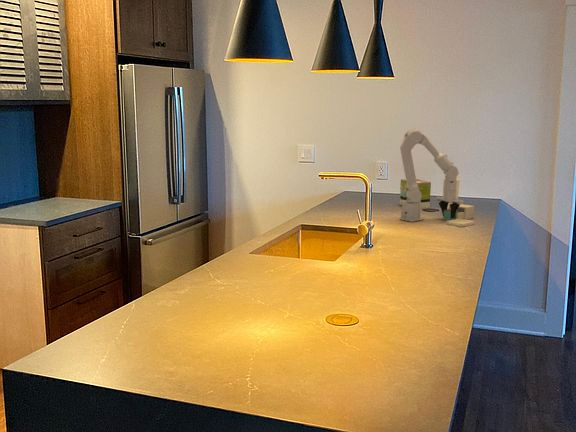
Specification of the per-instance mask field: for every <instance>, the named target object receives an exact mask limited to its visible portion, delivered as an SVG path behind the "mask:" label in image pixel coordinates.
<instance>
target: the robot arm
mask: <svg viewBox="0 0 576 432" xmlns="http://www.w3.org/2000/svg"><path fill="white" fill-rule="evenodd" d="M417 144H419V145H422V146H424V148H425V149H426V150H427V151H428V152H429V153H430V154H431V155H432V156H433V161H434V163H435V164H436V165H437V166H438V167H439V168H440V169H441V171H443V174H444V178H445V182H444V181H443V182H444V197H443V196H435V201H436V202H438V205H439V207H440V210H441V213H442V215H443V214H444V210H445V209H447V207H448V203H453V204H450V208H451V218H454V217H455V213H456V211H457V209H458V207H459V206H460V205H462V204H464V199H459V198H458V199H456V183H457V181H456V179H457V178H458V175H459V173H460V172H459V168H457V167H456V166H455V165H454V162H453V161H451V160H450V159H449V158H448V155H447V154H446V153H444V152H440V151H439V150H438V149H437V148H436V147H435V145H434V144H433V142H432V141H430V140H429V138H428V137H427V136H426V135H425V134H423V133H422V131H420V130H419V129H416V128H410V129H409V130H408V131H406V132H405V134H404V135H403V139H402V141H401V145H400V148H399V149H400V150H399V151H400V154H401V161H402V167H403V171H404V176H405V179H406V183H407V184H406V187H407V190H406V196H407V199H406V203H404V204H403V205H401V208H400V209H401V210H400V217H399V220H400V221H406V222H410V223H411V222H418V221H423V220H424V218H422V217H421V209H420V208H421V201H420V200H421V198H422V194H421V192H420V191H419V188H418V185H417V182H416V179H417V178H416V172H415V171H416V170H415V166H414V160H413V156H412V149H413V148H414V147H415V146H416V145H417ZM450 201H452V202H450Z"/></svg>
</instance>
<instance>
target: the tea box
mask: <svg viewBox="0 0 576 432" xmlns="http://www.w3.org/2000/svg"><path fill="white" fill-rule="evenodd" d="M416 182H417V185H418V188H419V191H420V192H421V194H422V198H421V200H420V201H421V208H420V210H426V209H430V206H431V205H430V204H431V187H432V184H431V183H432V182H431V181H428V180H422V179H418V178H416ZM406 184H407V183H406V178H402V179H400V191H399V193H400V194H399V205H400V206H402V205H403V204H404V203H406V199H407V196H406V190H407V187H406Z"/></svg>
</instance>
